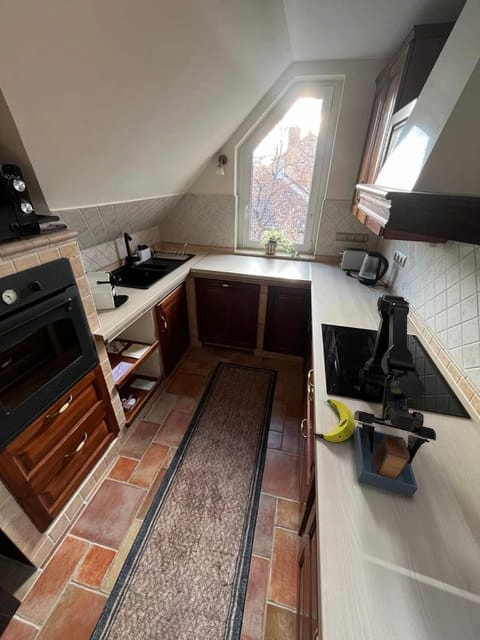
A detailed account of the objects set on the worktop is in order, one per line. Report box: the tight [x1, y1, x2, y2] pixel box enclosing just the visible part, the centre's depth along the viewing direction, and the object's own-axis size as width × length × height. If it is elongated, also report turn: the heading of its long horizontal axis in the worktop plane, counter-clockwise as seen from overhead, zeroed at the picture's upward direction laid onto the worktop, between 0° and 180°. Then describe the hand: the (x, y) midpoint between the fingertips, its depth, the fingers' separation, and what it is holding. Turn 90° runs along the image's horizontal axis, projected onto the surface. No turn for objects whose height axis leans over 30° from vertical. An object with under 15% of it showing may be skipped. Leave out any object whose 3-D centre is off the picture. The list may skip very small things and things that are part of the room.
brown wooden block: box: [371, 435, 410, 480], centre depth 68 cm, size 5×5×13 cm
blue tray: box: [352, 425, 419, 499], centre depth 73 cm, size 15×13×5 cm
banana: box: [312, 399, 356, 443], centre depth 86 cm, size 5×17×15 cm
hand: (389, 458), depth 68 cm, fingers open, 9 cm apart
